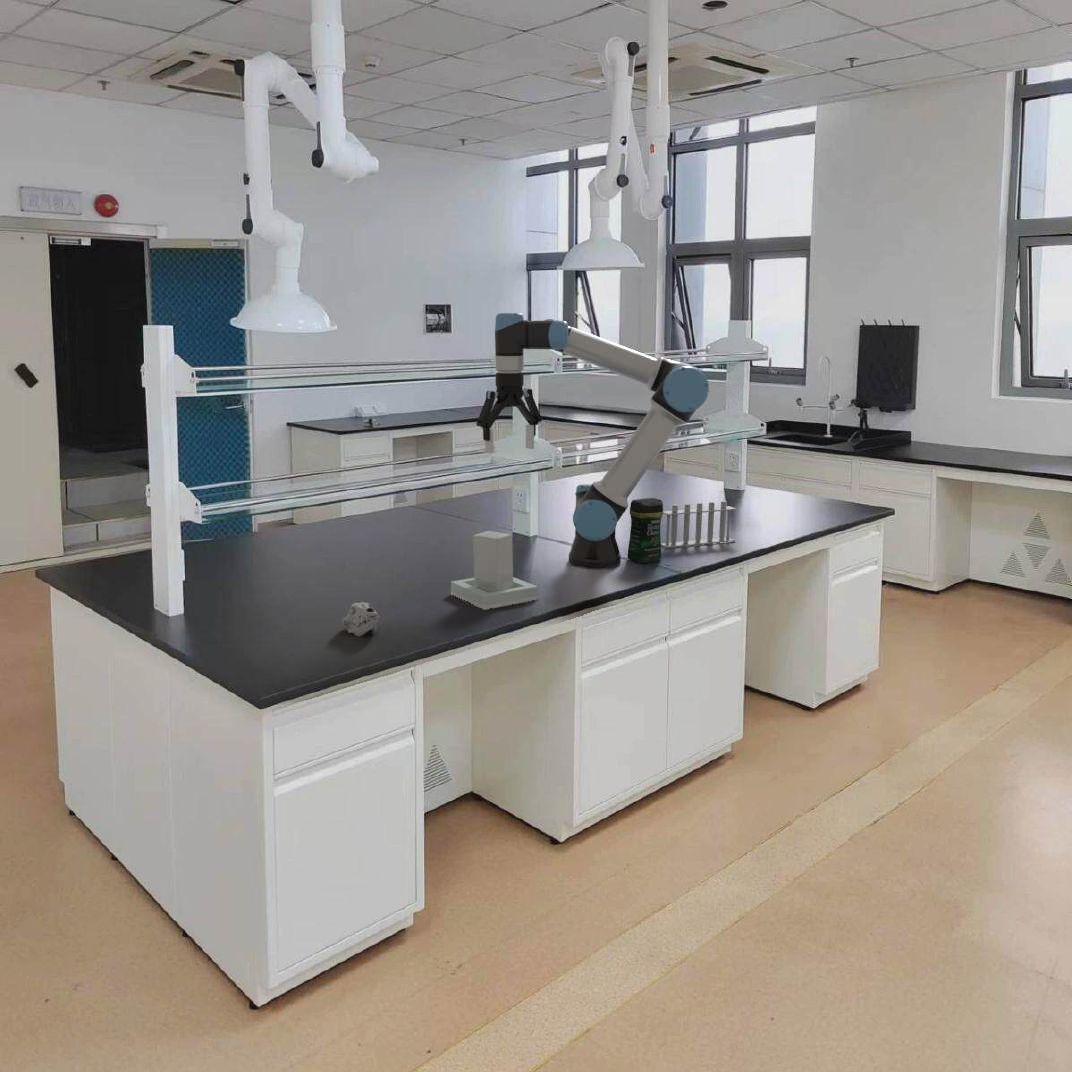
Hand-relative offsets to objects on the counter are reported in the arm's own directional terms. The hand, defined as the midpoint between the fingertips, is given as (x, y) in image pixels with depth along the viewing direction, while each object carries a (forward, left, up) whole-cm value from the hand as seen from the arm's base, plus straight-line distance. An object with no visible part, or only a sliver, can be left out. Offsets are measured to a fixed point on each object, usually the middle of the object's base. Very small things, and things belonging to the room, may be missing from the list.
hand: (509, 450), depth 281 cm
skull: (+58, +27, -35) cm, 73 cm away
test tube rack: (-69, +3, -35) cm, 77 cm away
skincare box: (+18, +19, -33) cm, 42 cm away
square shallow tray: (+17, +19, -34) cm, 43 cm away
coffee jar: (-41, +11, -34) cm, 54 cm away
